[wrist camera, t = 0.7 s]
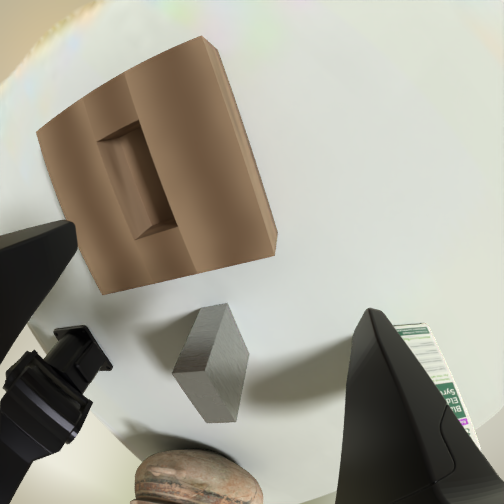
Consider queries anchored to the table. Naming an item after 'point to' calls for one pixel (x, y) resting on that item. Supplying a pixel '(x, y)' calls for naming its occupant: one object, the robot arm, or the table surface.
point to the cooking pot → (194, 480)
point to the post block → (160, 173)
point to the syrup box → (437, 370)
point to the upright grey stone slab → (213, 365)
